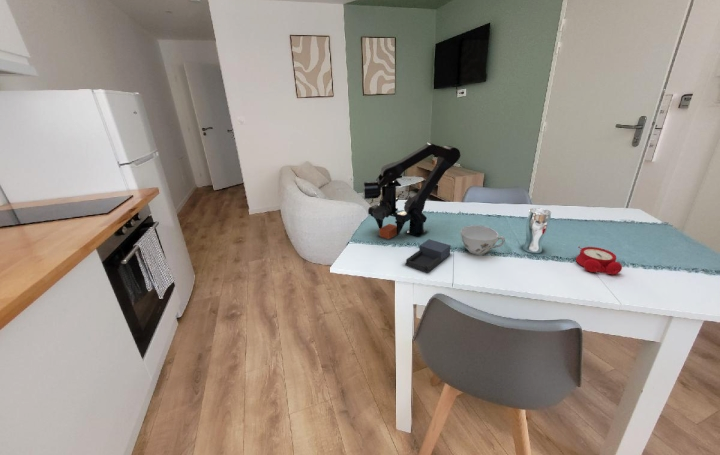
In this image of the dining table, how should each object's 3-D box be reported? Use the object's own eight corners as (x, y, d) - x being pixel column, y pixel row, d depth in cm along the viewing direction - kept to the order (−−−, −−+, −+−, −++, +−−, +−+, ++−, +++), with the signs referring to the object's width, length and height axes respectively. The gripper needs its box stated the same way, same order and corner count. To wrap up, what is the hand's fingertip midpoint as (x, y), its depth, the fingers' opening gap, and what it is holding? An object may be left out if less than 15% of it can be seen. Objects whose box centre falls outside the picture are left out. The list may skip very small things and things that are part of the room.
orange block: (389, 230, 128) (389, 223, 127) (398, 233, 125) (398, 226, 124) (379, 236, 124) (379, 228, 122) (388, 239, 120) (388, 231, 119)
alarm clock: (609, 247, 98) (633, 259, 84) (605, 265, 99) (629, 279, 85) (573, 244, 101) (590, 255, 87) (570, 261, 102) (586, 274, 88)
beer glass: (537, 245, 110) (545, 207, 104) (547, 253, 103) (556, 214, 97) (518, 245, 110) (525, 207, 104) (526, 253, 104) (534, 214, 98)
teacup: (459, 257, 104) (460, 237, 100) (458, 242, 115) (460, 224, 111) (505, 262, 99) (508, 241, 96) (500, 246, 110) (503, 226, 107)
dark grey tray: (428, 248, 111) (428, 239, 110) (449, 255, 106) (450, 245, 104) (405, 265, 101) (405, 254, 99) (427, 273, 95) (428, 262, 94)
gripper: (358, 198, 118) (360, 233, 124) (396, 206, 106) (395, 244, 112) (376, 191, 126) (376, 224, 132) (412, 198, 114) (411, 235, 120)
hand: (389, 232), depth 124 cm, fingers open, 9 cm apart
